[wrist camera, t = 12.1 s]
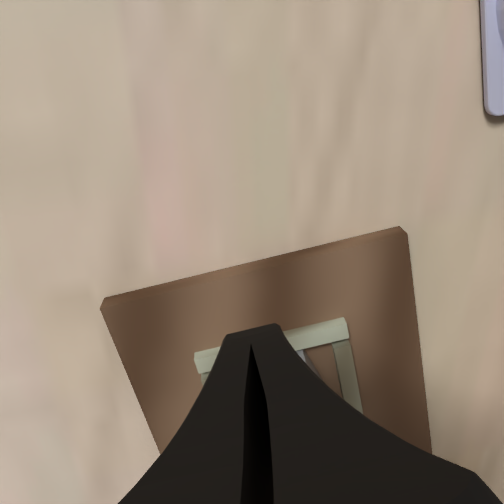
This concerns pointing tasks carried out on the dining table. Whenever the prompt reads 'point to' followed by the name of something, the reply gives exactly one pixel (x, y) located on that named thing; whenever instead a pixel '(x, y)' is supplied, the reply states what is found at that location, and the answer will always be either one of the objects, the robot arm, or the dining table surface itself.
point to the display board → (284, 330)
